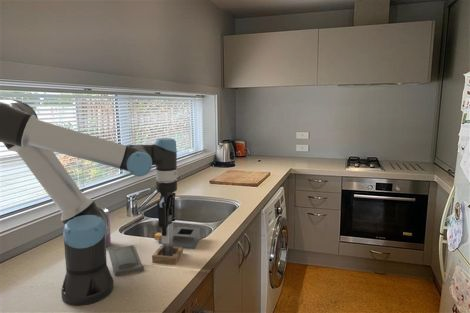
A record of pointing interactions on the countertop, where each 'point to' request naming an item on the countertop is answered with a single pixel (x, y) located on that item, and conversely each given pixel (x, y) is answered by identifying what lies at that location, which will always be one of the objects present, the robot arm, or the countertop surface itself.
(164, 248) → the gray rectangular bar
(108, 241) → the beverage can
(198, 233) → the socket block
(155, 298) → the countertop surface
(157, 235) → the block
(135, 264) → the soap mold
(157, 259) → the square wooden tray
